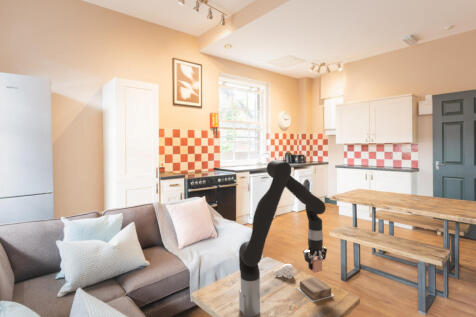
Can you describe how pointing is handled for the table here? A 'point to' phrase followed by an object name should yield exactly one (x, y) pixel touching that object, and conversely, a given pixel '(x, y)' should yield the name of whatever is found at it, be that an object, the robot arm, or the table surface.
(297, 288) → the grey flat square slab
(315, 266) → the terracotta block
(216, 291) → the table surface
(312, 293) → the walnut plinth
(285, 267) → the white speckled wedge
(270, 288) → the table surface
